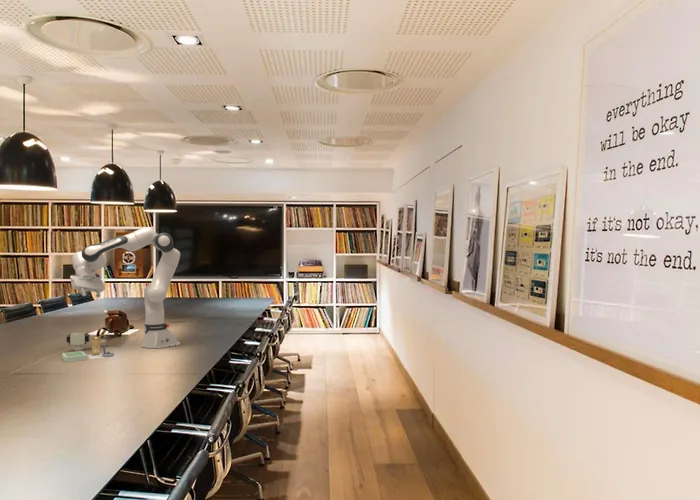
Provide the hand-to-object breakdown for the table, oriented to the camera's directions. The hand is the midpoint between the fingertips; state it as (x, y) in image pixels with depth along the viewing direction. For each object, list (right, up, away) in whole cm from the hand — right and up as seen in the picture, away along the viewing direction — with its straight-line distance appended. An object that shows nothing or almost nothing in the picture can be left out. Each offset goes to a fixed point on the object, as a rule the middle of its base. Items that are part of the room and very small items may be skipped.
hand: (91, 296), depth 284 cm
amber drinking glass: (+6, -33, -7) cm, 34 cm away
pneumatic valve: (-10, -33, +4) cm, 35 cm away
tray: (-1, -34, -17) cm, 38 cm away
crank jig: (+10, -34, -9) cm, 36 cm away
